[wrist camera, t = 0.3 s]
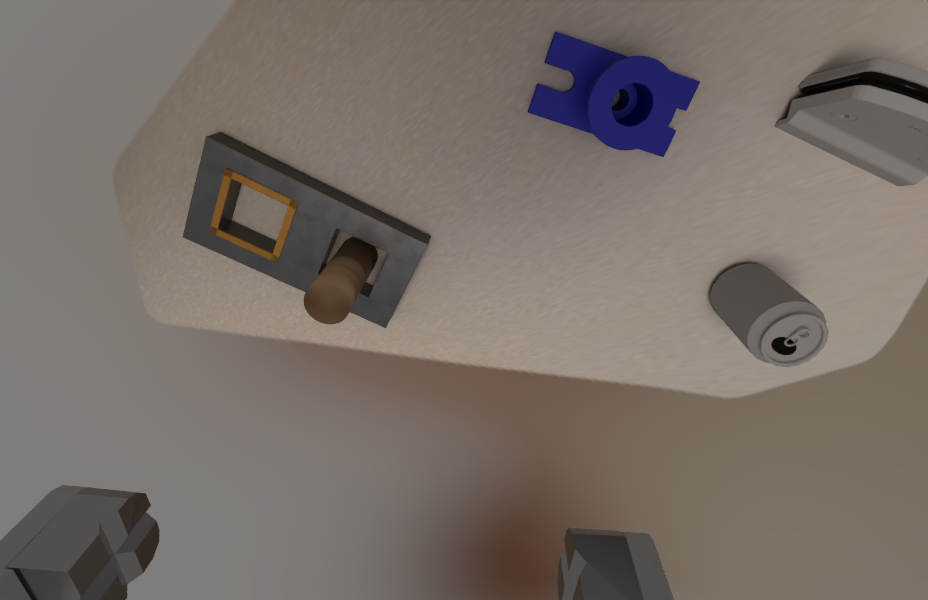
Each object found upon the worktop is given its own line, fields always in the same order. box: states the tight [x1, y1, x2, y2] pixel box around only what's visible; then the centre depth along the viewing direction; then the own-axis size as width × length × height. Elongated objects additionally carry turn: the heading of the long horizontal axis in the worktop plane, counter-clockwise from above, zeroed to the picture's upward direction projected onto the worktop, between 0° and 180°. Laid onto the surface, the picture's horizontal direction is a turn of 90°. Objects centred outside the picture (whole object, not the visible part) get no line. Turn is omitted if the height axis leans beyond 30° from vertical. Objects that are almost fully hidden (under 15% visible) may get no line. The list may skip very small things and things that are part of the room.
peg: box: [304, 237, 378, 324], centre depth 52 cm, size 4×4×13 cm
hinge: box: [775, 58, 928, 186], centre depth 44 cm, size 17×5×10 cm, turn 68°
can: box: [710, 263, 828, 367], centre depth 52 cm, size 8×8×12 cm
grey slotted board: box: [183, 132, 431, 328], centre depth 55 cm, size 12×26×3 cm, turn 63°
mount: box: [528, 32, 700, 157], centre depth 44 cm, size 15×8×9 cm, turn 73°
